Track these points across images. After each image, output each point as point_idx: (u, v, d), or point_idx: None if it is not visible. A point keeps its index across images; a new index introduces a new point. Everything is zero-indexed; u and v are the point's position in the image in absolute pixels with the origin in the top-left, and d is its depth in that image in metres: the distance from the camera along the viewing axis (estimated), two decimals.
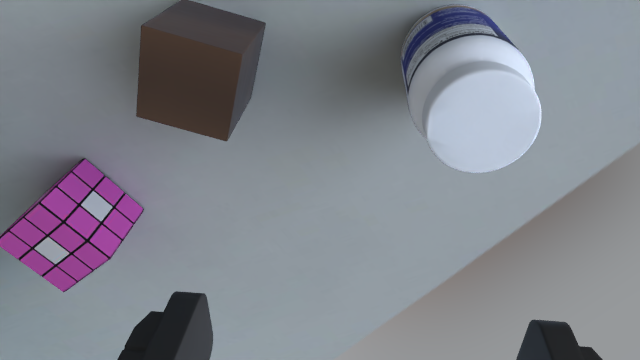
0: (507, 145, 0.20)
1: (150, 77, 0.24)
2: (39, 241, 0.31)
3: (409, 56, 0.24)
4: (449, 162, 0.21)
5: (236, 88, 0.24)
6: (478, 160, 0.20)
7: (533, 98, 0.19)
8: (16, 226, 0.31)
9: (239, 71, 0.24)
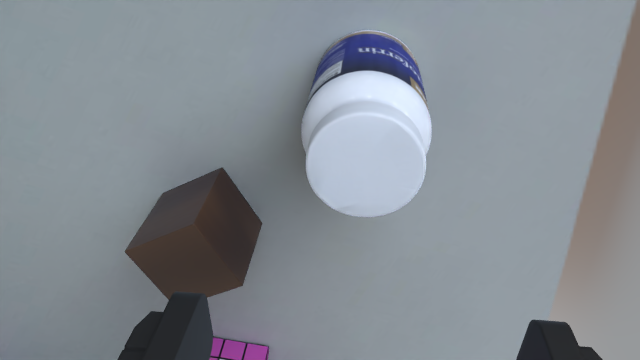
0: (403, 168, 0.18)
1: (159, 278, 0.28)
2: None
3: None
4: (372, 213, 0.19)
5: (212, 247, 0.27)
6: (393, 195, 0.19)
7: (380, 119, 0.17)
8: None
9: (203, 235, 0.26)
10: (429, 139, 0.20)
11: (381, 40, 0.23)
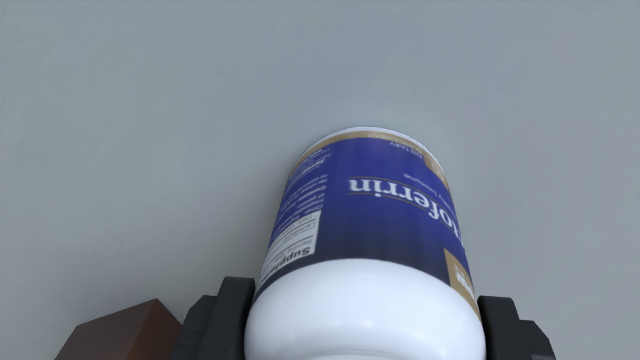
0: None
1: None
2: None
3: None
4: None
5: None
6: None
7: None
8: None
9: None
10: None
11: (390, 155, 0.14)
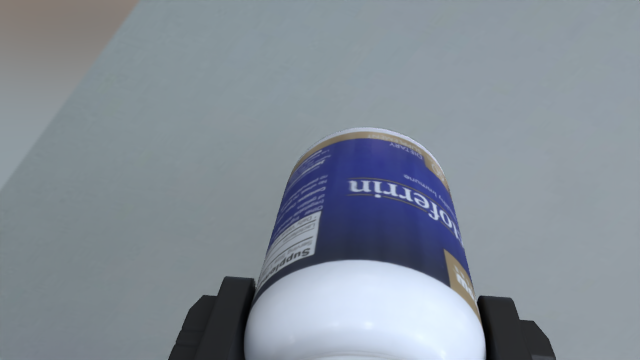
0: None
1: None
2: None
3: None
4: None
5: None
6: None
7: None
8: None
9: None
10: None
11: (390, 155, 0.14)
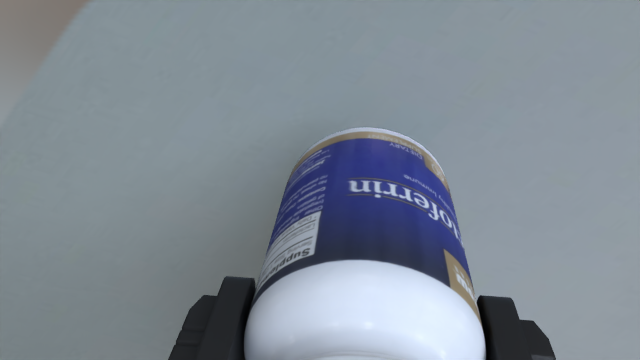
0: None
1: None
2: None
3: None
4: None
5: None
6: None
7: None
8: None
9: None
10: None
11: (390, 155, 0.14)
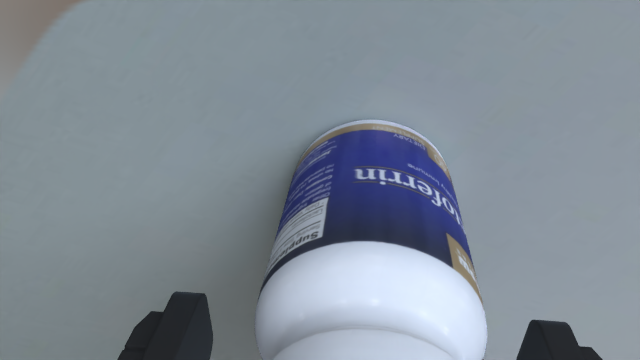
0: None
1: None
2: None
3: None
4: None
5: None
6: None
7: None
8: None
9: None
10: (483, 354, 0.11)
11: (394, 146, 0.14)
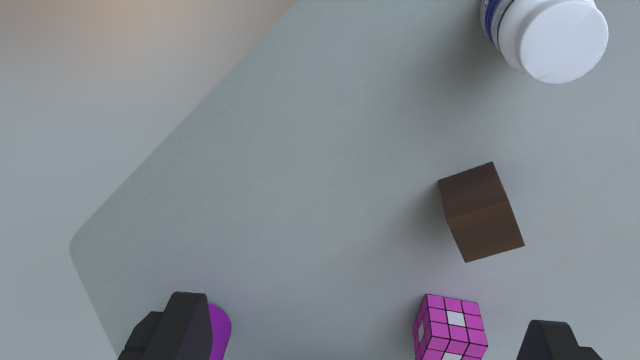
0: (591, 43, 0.26)
1: (463, 240, 0.39)
2: (441, 357, 0.48)
3: (490, 34, 0.32)
4: (560, 81, 0.28)
5: (514, 217, 0.38)
6: (579, 66, 0.27)
7: (583, 6, 0.25)
8: (424, 355, 0.48)
9: (511, 208, 0.37)
10: None
11: None
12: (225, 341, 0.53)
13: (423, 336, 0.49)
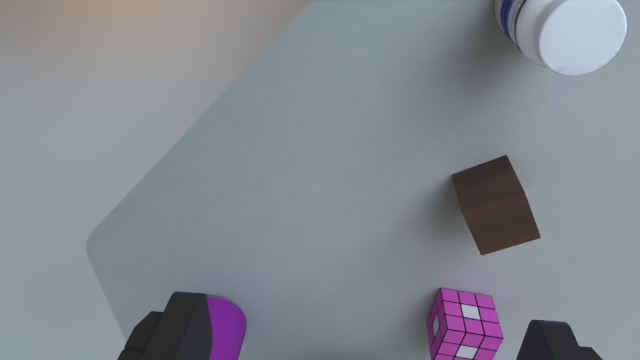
0: (610, 35, 0.27)
1: (479, 232, 0.40)
2: (457, 350, 0.48)
3: (506, 28, 0.33)
4: (579, 72, 0.28)
5: (530, 209, 0.38)
6: (597, 57, 0.27)
7: None
8: (440, 348, 0.48)
9: (527, 200, 0.38)
10: None
11: None
12: (241, 337, 0.54)
13: (438, 329, 0.49)
